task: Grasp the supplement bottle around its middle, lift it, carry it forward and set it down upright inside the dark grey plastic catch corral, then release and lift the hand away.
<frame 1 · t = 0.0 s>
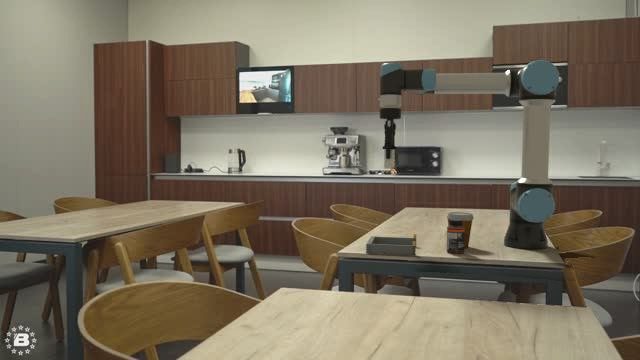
hand: (389, 168, 208), 28 cm above the table, fingers open, 13 cm apart
disposable coffee cup: (459, 247, 210), on the table
supplement bottle: (455, 253, 198), on the table
catch corral: (393, 249, 202), on the table
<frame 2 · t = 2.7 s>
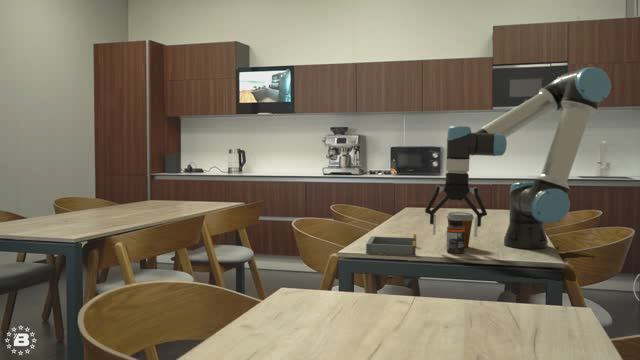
hand: (454, 235, 197), 6 cm above the table, fingers open, 13 cm apart
nothing on the table moved.
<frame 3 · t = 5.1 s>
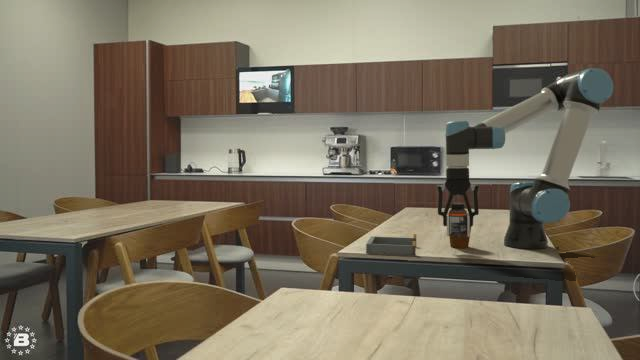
hand: (458, 235, 198), 6 cm above the table, fingers closed on supplement bottle, 6 cm apart
supplement bottle: (458, 237, 198), point 5 cm above the table, touching gripper
everything else where it was.
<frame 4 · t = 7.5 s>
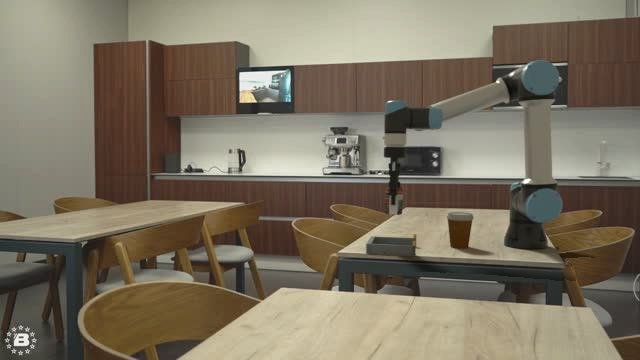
hand: (393, 213, 202), 13 cm above the table, fingers closed on supplement bottle, 6 cm apart
supplement bottle: (393, 214, 202), point 12 cm above the table, touching gripper
everything else where it was.
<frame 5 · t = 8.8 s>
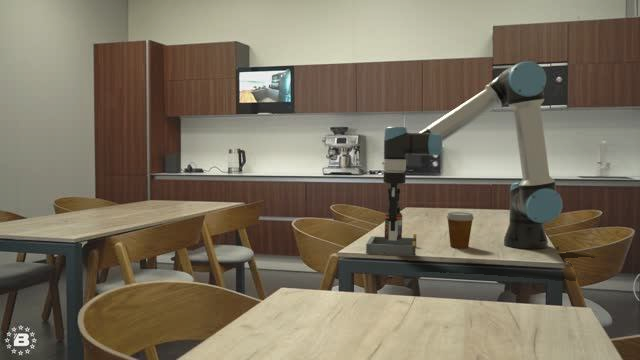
hand: (393, 238, 202), 4 cm above the table, fingers closed on supplement bottle, 6 cm apart
supplement bottle: (393, 239, 202), point 3 cm above the table, touching gripper
everything else where it was.
when the fingers open (2 cm above the table, at t = 9.9 s): supplement bottle drops 2 cm, on the table.
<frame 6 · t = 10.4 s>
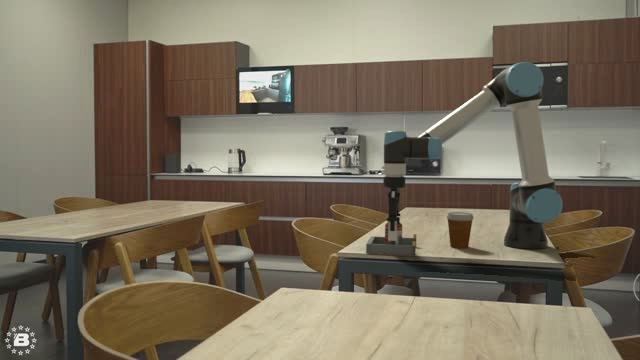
hand: (393, 237, 202), 4 cm above the table, fingers open, 13 cm apart
supplement bottle: (393, 250, 203), on the table
everything else where it was.
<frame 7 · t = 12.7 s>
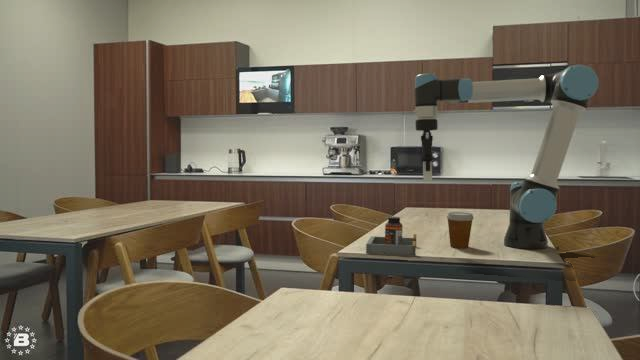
hand: (427, 180, 205), 24 cm above the table, fingers open, 13 cm apart
nothing on the table moved.
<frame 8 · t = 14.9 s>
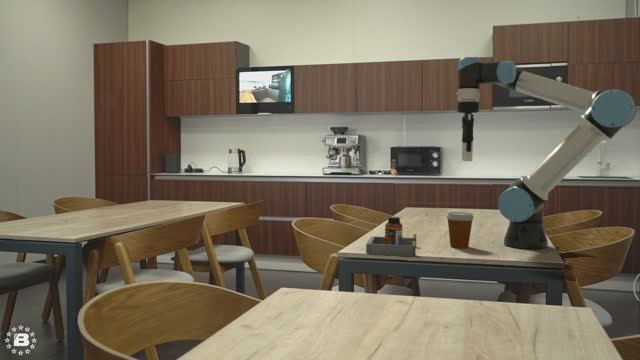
hand: (466, 161, 210), 31 cm above the table, fingers open, 13 cm apart
nothing on the table moved.
at the end: supplement bottle inside the target area (0.4 cm from its centre), on the table; supplement bottle tilted 0°; the gripper is holding nothing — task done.
